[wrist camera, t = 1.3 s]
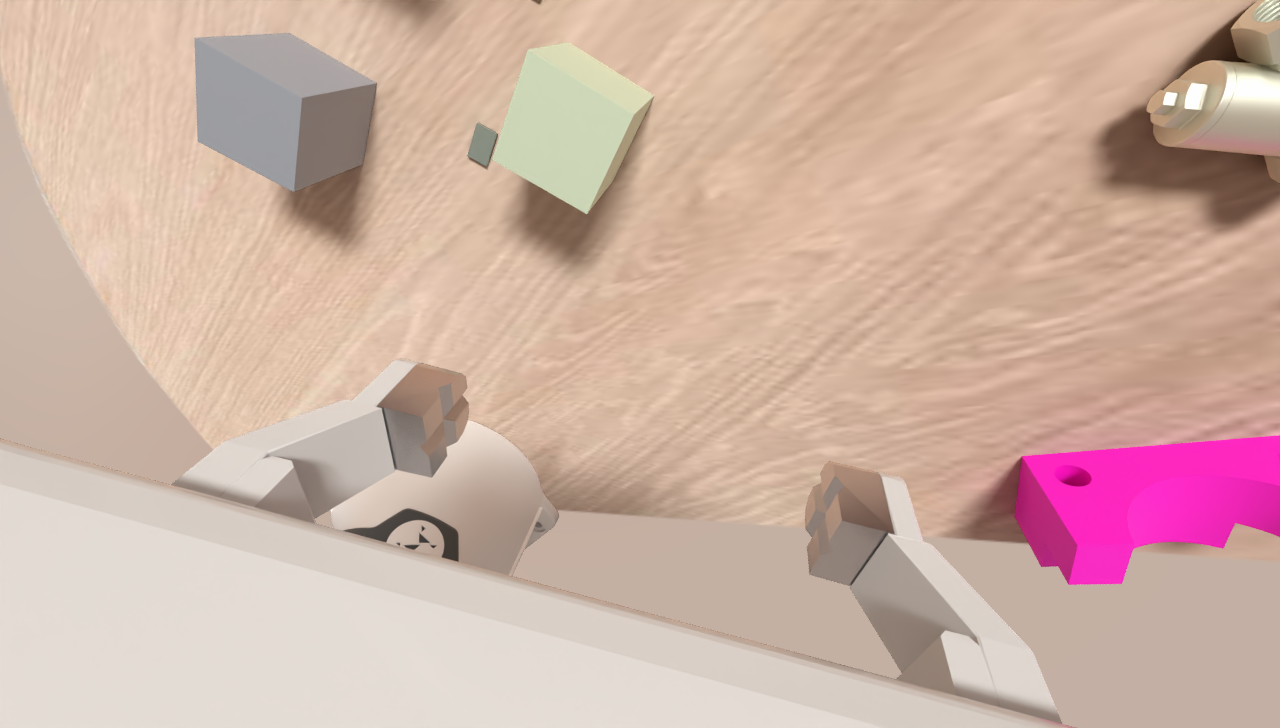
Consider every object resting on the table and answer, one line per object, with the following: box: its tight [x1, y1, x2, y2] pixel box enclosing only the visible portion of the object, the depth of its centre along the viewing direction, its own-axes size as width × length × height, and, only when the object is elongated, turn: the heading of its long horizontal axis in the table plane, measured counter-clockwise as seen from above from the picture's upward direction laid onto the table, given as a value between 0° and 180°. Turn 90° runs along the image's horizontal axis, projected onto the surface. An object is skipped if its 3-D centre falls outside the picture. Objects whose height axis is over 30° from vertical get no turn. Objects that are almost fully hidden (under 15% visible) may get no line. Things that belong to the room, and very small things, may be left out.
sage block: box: [492, 42, 654, 214], centre depth 25 cm, size 5×5×6 cm
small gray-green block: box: [468, 123, 498, 167], centre depth 29 cm, size 2×1×1 cm, turn 152°
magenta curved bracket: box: [1014, 435, 1280, 585], centre depth 32 cm, size 15×6×8 cm, turn 107°
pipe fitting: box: [1147, 0, 1280, 183], centre depth 22 cm, size 8×4×7 cm
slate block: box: [195, 33, 377, 192], centre depth 27 cm, size 5×5×6 cm
